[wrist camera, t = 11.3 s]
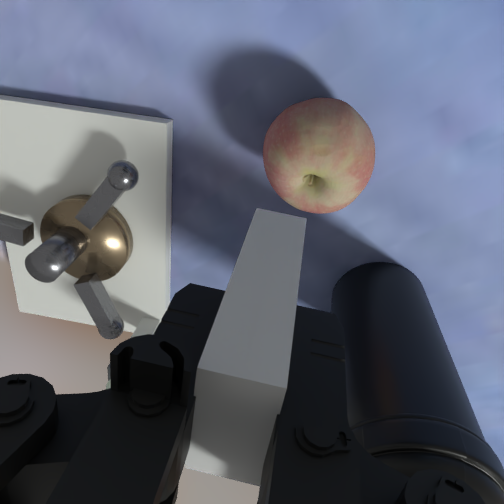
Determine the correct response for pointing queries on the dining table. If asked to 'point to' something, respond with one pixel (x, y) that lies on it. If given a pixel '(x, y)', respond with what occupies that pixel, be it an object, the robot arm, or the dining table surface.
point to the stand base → (86, 183)
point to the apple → (319, 155)
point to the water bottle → (408, 381)
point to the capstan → (83, 243)
